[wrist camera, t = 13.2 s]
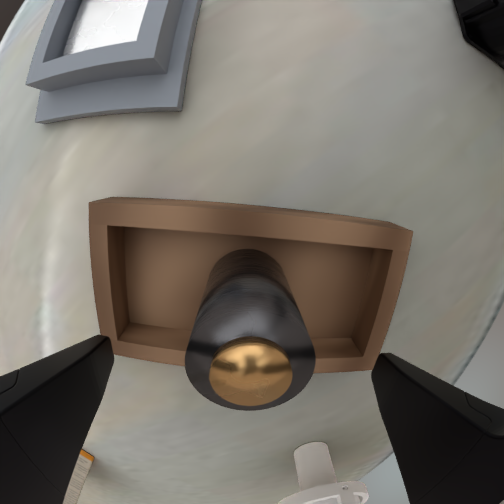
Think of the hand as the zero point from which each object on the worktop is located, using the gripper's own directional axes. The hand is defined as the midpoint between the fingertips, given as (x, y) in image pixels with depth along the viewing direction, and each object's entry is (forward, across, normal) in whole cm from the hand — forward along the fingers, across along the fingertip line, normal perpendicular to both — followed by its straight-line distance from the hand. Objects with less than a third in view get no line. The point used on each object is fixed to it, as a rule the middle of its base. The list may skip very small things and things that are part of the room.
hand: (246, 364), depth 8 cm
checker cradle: (+7, +8, -14) cm, 18 cm away
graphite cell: (+6, 0, 0) cm, 6 cm away
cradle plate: (+5, +8, -14) cm, 17 cm away
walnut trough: (+7, 0, 0) cm, 7 cm away
